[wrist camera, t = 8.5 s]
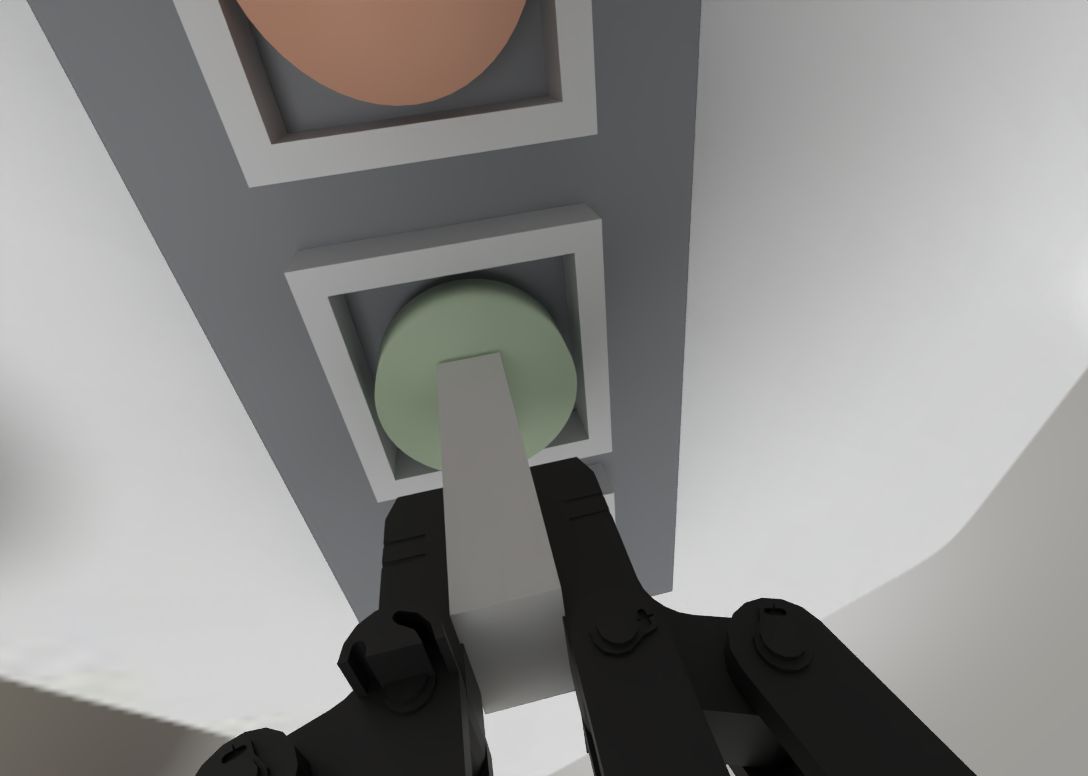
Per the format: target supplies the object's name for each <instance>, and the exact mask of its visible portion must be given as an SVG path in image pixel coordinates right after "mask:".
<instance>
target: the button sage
mask: <svg viewBox="0 0 1088 776" xmlns="http://www.w3.org/2000/svg"><path fill="white" fill-rule="evenodd" d="M494 353H500V356H501V360H502V364H503V368H504V372H505V375H506V379H507V383H508V387H509V391H510V395H511V398H512V402H513V406H514V410H515V414H516V418H517V421H518V425H519V429H520V433H521V437H522V440H523V444H524V448H525V452H526V456H527V459H529V458H531V457H532V456H534V455H536V454H537V453H539V452H540V451H541V450H542V449H544V448H545V447H546V446H548V445H549V444H550V443H551V442H552V441H553V440H554V439H555V438H556V436H557V435H558V434H559V433H560V431H561V430H562V429H563V427H564V426H565V424H566V422H567V421H568V419H569V417H570V414H571V412H572V410H573V407H574V403H575V400H576V393H577V375H576V369H575V365H574V362H573V359H572V357H571V355H570V352H569V350H568V348H567V346H566V344H565V342H564V340H563V338H562V336H561V334H560V332H559V330H558V328H557V326H556V324H555V322H554V320H553V318H552V317H551V315H550V314H549V313H548V311H547V310H546V309H545V308H544V307H543V306H542V305H541V304H540V303H539V302H538V301H537V300H536V299H534V298H533V297H532V296H531V295H529V294H528V293H526V292H524V291H522V290H521V289H519V288H516V287H514V286H512V285H509V284H506V283H503V282H499V281H495V280H488V279H461V280H454V281H450V282H446V283H442V284H440V285H437V286H434V287H432V288H430V289H428V290H426V291H424V292H422V293H420V294H419V295H417V296H416V297H414V298H413V299H412V300H410V301H409V302H408V303H407V304H406V305H405V306H404V307H402V308H401V309H400V310H399V312H398V313H397V314H396V315H395V317H394V318H393V319H392V321H391V322H390V324H389V326H388V328H387V329H386V331H385V334H384V337H383V339H382V342H381V347H380V351H379V359H378V366H377V374H376V382H375V395H374V397H375V406H376V411H377V414H378V418H379V420H380V422H381V425H382V427H383V429H384V430H385V432H386V433H387V435H388V437H389V438H390V439H391V440H392V441H393V443H394V444H395V445H396V446H397V447H398V448H399V449H401V450H402V451H403V452H404V453H405V454H407V455H408V456H410V457H411V458H413V459H414V460H416V461H418V462H420V463H422V464H424V465H426V466H429V467H432V468H435V469H438V470H442V460H441V441H440V423H439V404H438V386H437V367H436V365H437V364H442V363H447V362H452V361H457V360H463V359H468V358H473V357H478V356H483V355H488V354H494Z"/></svg>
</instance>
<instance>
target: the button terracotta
mask: <svg viewBox="0 0 1088 776" xmlns="http://www.w3.org/2000/svg"><path fill="white" fill-rule="evenodd" d="M237 2H238V4H239V5H240V7H241V8H242V10H243V11H244V13H245V14H246V16H247V17H248V18H249V19H250V21H251V22H252V23H253V24H254V26H255V27H256V28H257V29H258V31H259V32H260V33H261V34H262V36H263V37H264V38H265V39H266V40H267V41H268V42H269V43H270V44H271V45H272V46H273V47H274V48H275V49H276V50H277V51H278V52H279V53H280V54H281V55H282V56H283V57H284V58H286V59H287V60H288V61H289V62H290V63H292V64H293V65H294V66H295V67H297V68H298V69H299V70H300V71H302V72H303V73H305V74H306V75H308V76H309V77H311V78H312V79H314V80H315V81H317V82H318V83H320V84H322V85H324V86H326V87H328V88H330V89H332V90H334V91H336V92H338V93H340V94H343V95H346V96H349V97H351V98H354V99H357V100H360V101H365V102H370V103H374V104H380V105H393V106H402V105H416V104H421V103H425V102H430V101H434V100H437V99H439V98H442V97H445V96H447V95H450V94H452V93H454V92H455V91H457V90H459V89H461V88H462V87H464V86H466V85H467V84H469V83H470V82H471V81H472V80H474V79H475V78H476V77H478V76H479V75H480V74H481V73H482V72H483V71H484V70H485V69H486V68H487V67H488V66H489V65H490V64H491V63H492V62H493V61H494V60H495V58H496V57H497V56H498V54H499V53H500V52H501V50H502V49H503V47H504V46H505V45H506V43H507V41H508V40H509V38H510V36H511V34H512V32H513V31H514V29H515V27H516V25H517V23H518V20H519V18H520V15H521V13H522V10H523V8H524V5H525V2H526V0H237Z"/></svg>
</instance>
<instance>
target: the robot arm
mask: <svg viewBox="0 0 1088 776" xmlns="http://www.w3.org/2000/svg"><path fill="white" fill-rule="evenodd" d="M436 367H437V386H438V404H439V423H440V441H441V460H442V479H443V488H438V489H433V490H429V491H424V492H420V493H415V494H411V495H406V496H401V497H397V499H396V501H395V503H394V505H393V506H392V508H391V510H390V512H389V514H388V515H387V517H386V519H385V527H384V541H383V544H384V548H383V555H382V566H383V568H382V569H381V583H380V596H379V610H377V611H374V612H373V613H372V614H371V615H369V616H368V617H367V618H365V619H364V620H363V621H362V622H360V623H359V624H358V625H357V626H356V627H355V629H354V630H353V631H352V633H351V634H350V636H349V637H348V638H347V640H346V641H345V643H344V644H343V647H342V651H341V654H340V657H339V660H338V663H337V665H338V666H339V668H340V669H341V671H342V673H343V674H344V676H345V678H346V679H347V681H348V682H349V684H350V686H351V687H352V689H353V691H352V692H351V693H350V694H349V695H348V696H347V697H346V698H345V699H344V700H343V701H342V702H340V703H339V704H337V705H336V706H335V707H333V708H332V709H331V710H329V711H327V712H326V713H324V714H322V715H321V716H319V717H317V718H316V719H314V720H312V721H311V722H309V723H307V724H306V725H304V726H302V727H301V728H299V729H297V730H296V731H294V732H292V733H291V734H289V735H287V736H286V735H285V734H284V733H283V732H281V731H277V730H273V729H269V728H262V729H257V730H253V731H248V732H244V733H243V734H241V735H239V736H237V737H236V738H234V739H232V740H231V741H229V742H227V743H225V744H224V745H222V747H220V748H219V749H218V750H217V751H216V752H215V753H214V754H213V755H212V756H211V757H210V758H209V759H208V760H207V761H206V762H205V763H204V764H203V765H202V766H201V768H200V769H199V771H198V772H197V774H196V776H493V768H492V758H491V754H490V751H489V747H488V744H487V741H486V738H485V729H484V719H483V709H484V712H485V714H489V713H493V712H496V711H500V710H504V709H508V708H511V707H515V706H519V705H523V704H527V703H530V702H534V701H538V700H542V699H546V698H549V697H553V696H557V695H561V694H564V693H568V692H572V691H576V695H577V699H578V703H579V707H580V711H581V716H582V723H583V729H584V736H585V743H586V750H587V753H589V756H590V759H591V763H592V768H593V772H594V776H730V774H729V772H728V769H727V767H726V765H725V764H728V765H729V767H730V768H731V770H732V771H733V773H734V774H735V776H977V775H976V774H975V773H974V772H973V771H972V770H970V769H969V768H968V767H967V766H966V765H965V764H964V763H963V762H962V761H961V760H960V759H959V758H958V757H957V756H956V755H955V754H954V753H953V752H952V751H951V750H950V749H949V748H948V747H947V746H946V745H945V744H944V743H943V742H942V741H941V740H940V739H939V738H938V737H937V736H936V735H935V734H934V733H933V732H932V731H931V730H930V729H929V728H928V727H927V726H926V725H925V724H924V723H923V722H922V721H921V720H920V719H919V718H918V717H917V716H916V715H915V714H914V713H913V712H912V711H911V710H910V709H909V708H908V707H907V706H906V705H905V704H904V703H903V702H902V701H901V700H900V699H899V698H898V697H897V696H896V695H895V694H894V693H893V692H892V691H891V690H890V689H888V687H887V686H886V685H885V684H883V683H882V681H881V680H879V678H877V677H876V676H875V675H874V674H873V673H872V672H871V671H870V670H869V669H868V668H867V667H866V666H865V665H864V664H863V663H862V662H861V661H860V660H859V659H858V658H857V657H856V656H855V655H854V654H853V653H852V652H851V651H850V650H849V649H848V648H847V647H846V646H845V645H844V644H843V643H842V642H841V641H840V640H839V639H838V638H837V637H836V636H835V635H834V634H833V633H832V632H831V631H830V630H829V629H828V628H827V627H826V626H825V625H824V624H823V623H822V622H821V621H820V620H819V619H817V618H816V617H815V616H813V615H812V614H810V613H809V612H808V611H806V610H805V609H804V608H802V607H800V606H798V605H795V604H793V603H790V602H787V601H785V600H782V599H771V598H760V599H757V600H753V601H750V602H747V603H744V604H743V605H742V606H741V607H740V608H739V609H738V610H737V611H736V612H735V613H734V614H733V616H732V618H727V617H713V616H700V615H691V614H685V613H680V612H677V611H674V610H672V609H669V608H667V607H665V606H663V605H662V604H660V603H659V602H657V601H656V600H654V599H653V598H652V597H651V596H650V595H649V594H648V593H647V592H646V591H645V590H644V588H643V587H642V585H641V583H640V581H639V580H638V578H637V576H636V573H635V571H634V568H633V566H632V563H631V561H630V558H629V556H628V554H627V551H626V549H625V546H624V544H623V541H622V539H621V537H620V534H619V532H618V529H617V527H616V524H615V522H614V519H613V517H612V515H611V514H610V511H609V507H608V505H607V502H606V500H605V498H604V497H603V493H602V490H601V488H600V485H599V483H598V480H597V478H596V476H595V473H594V471H592V470H591V469H590V468H589V467H588V466H587V465H586V464H584V463H583V462H582V461H581V460H580V459H579V458H578V457H573V458H568V459H563V460H559V461H554V462H550V463H545V464H541V465H536V466H531V467H529V463H528V460H527V456H526V452H525V448H524V444H523V440H522V437H521V433H520V429H519V425H518V421H517V418H516V414H515V410H514V406H513V402H512V398H511V395H510V391H509V387H508V383H507V379H506V375H505V372H504V368H503V364H502V360H501V356H500V353H494V354H488V355H483V356H478V357H473V358H468V359H463V360H457V361H452V362H447V363H442V364H437V365H436ZM482 706H483V708H482Z"/></svg>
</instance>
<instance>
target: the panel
mask: <svg viewBox="0 0 1088 776" xmlns="http://www.w3.org/2000/svg"><path fill="white" fill-rule="evenodd" d="M27 2H28V4H29V6H30V8H31V9H32V11H33V13H34V15H35V17H36V19H37V21H38V23H39V24H40V26H41V28H42V30H43V32H44V34H45V36H46V38H47V39H48V41H49V43H50V45H51V47H52V49H53V51H54V52H55V54H56V56H57V58H58V60H59V62H60V64H61V66H62V67H63V69H64V71H65V73H66V75H67V77H68V79H69V81H70V82H71V84H72V86H73V88H74V90H75V92H76V94H77V96H78V97H79V99H80V101H81V103H82V105H83V107H84V109H85V110H86V112H87V114H88V116H89V118H90V120H91V122H92V124H93V125H94V127H95V129H96V131H97V133H98V135H99V137H100V139H101V140H102V142H103V144H104V146H105V148H106V150H107V152H108V153H109V155H110V157H111V159H112V161H113V163H114V165H115V167H116V168H117V170H118V172H119V174H120V176H121V178H122V180H123V182H124V183H125V185H126V187H127V189H128V191H129V193H130V195H131V196H132V198H133V200H134V202H135V204H136V206H137V208H138V210H139V211H140V213H141V215H142V217H143V219H144V221H145V223H146V225H147V226H148V228H149V230H150V232H151V234H152V236H153V238H154V240H155V241H156V243H157V245H158V247H159V249H160V251H161V253H162V254H163V256H164V258H165V260H166V262H167V264H168V266H169V268H170V269H171V271H172V273H173V275H174V277H175V279H176V281H177V283H178V284H179V286H180V288H181V290H182V292H183V294H184V296H185V297H186V299H187V301H188V303H189V305H190V307H191V309H192V311H193V312H194V314H195V316H196V318H197V320H198V322H199V324H200V326H201V327H202V329H203V331H204V333H205V335H206V337H207V339H208V340H209V342H210V344H211V346H212V348H213V350H214V352H215V354H216V355H217V357H218V359H219V361H220V363H221V365H222V367H223V369H224V370H225V372H226V374H227V376H228V378H229V380H230V382H231V384H232V385H233V387H234V389H235V391H236V393H237V395H238V397H239V398H240V400H241V402H242V404H243V406H244V408H245V410H246V412H247V413H248V415H249V417H250V419H251V421H252V423H253V425H254V427H255V428H256V430H257V432H258V434H259V436H260V438H261V440H262V441H263V443H264V445H265V447H266V449H267V451H268V453H269V455H270V456H271V458H272V460H273V462H274V464H275V466H276V468H277V470H278V471H279V473H280V475H281V477H282V479H283V481H284V483H285V485H286V486H287V488H288V490H289V492H290V494H291V496H292V498H293V499H294V501H295V503H296V505H297V507H298V509H299V511H300V513H301V514H302V516H303V518H304V520H305V522H306V524H307V526H308V528H309V529H310V531H311V533H312V535H313V537H314V539H315V541H316V542H317V544H318V546H319V548H320V550H321V552H322V554H323V556H324V557H325V559H326V561H327V563H328V565H329V567H330V569H331V571H332V572H333V574H334V576H335V578H336V580H337V582H338V584H339V585H340V587H341V589H342V591H343V593H344V595H345V597H346V599H347V600H348V602H349V604H350V606H351V608H352V610H353V612H354V614H355V615H356V617H357V619H358V621H359V623H360V622H362V621H363V620H364V619H365V618H367V617H368V616H369V615H371V614H372V613H373V612H374V611H377V610H379V596H380V583H381V569H382V568H383V566H382V555H383V548H384V544H383V541H384V527H385V519H386V517H387V515H388V514H389V512H390V510H391V508H392V506H393V505H394V503H395V501H396V499H397V497H401V496H406V495H411V494H415V493H420V492H424V491H429V490H433V489H438V488H443V479H442V470H438V469H435V468H432V467H429V466H426V465H424V464H422V463H420V462H418V461H416V460H414V459H413V458H411V457H410V456H408V455H407V454H405V453H404V452H403V451H402V450H401V449H399V448H398V447H397V446H396V445H395V444H394V443H393V441H392V440H391V439H390V438H389V437H388V435H387V433H386V432H385V430H384V429H383V427H382V425H381V422H380V420H379V418H378V414H377V411H376V406H375V397H374V395H375V382H376V374H377V366H378V359H379V351H380V347H381V342H382V339H383V337H384V334H385V331H386V329H387V328H388V326H389V324H390V322H391V321H392V319H393V318H394V317H395V315H396V314H397V313H398V312H399V310H400V309H401V308H402V307H404V306H405V305H406V304H407V303H408V302H409V301H410V300H412V299H413V298H414V297H416V296H417V295H419V294H420V293H422V292H424V291H426V290H428V289H430V288H432V287H434V286H437V285H440V284H442V283H446V282H450V281H454V280H461V279H488V280H495V281H499V282H503V283H506V284H509V285H512V286H514V287H516V288H519V289H521V290H522V291H524V292H526V293H528V294H529V295H531V296H532V297H533V298H534V299H536V300H537V301H538V302H539V303H540V304H541V305H542V306H543V307H544V308H545V309H546V310H547V311H548V313H549V314H550V315H551V317H552V318H553V320H554V322H555V324H556V326H557V328H558V330H559V332H560V334H561V336H562V338H563V340H564V342H565V344H566V346H567V348H568V350H569V352H570V355H571V357H572V359H573V362H574V365H575V369H576V375H577V393H576V400H575V403H574V407H573V410H572V412H571V414H570V417H569V419H568V421H567V422H566V424H565V426H564V427H563V429H562V430H561V431H560V433H559V434H558V435H557V436H556V438H555V439H554V440H553V441H552V442H551V443H550V444H549V445H548V446H546V447H545V448H544V449H542V450H541V451H540V452H539V453H537V454H536V455H534V456H532V457H531V458H529V459H527V460H528V463H529V467H531V466H536V465H541V464H545V463H550V462H554V461H559V460H563V459H568V458H573V457H578V458H579V459H580V460H581V461H582V462H583V463H584V464H586V465H587V466H588V467H589V468H590V469H591V470H592V471H594V473H595V476H596V478H597V480H598V483H599V485H600V488H601V490H602V493H603V497H604V498H605V500H606V502H607V505H608V507H609V511H610V514H611V515H612V517H613V519H614V522H615V524H616V527H617V529H618V532H619V534H620V537H621V539H622V541H623V544H624V546H625V549H626V551H627V554H628V556H629V558H630V561H631V563H632V566H633V568H634V571H635V573H636V576H637V578H638V580H639V581H640V583H641V585H642V587H643V588H644V590H645V591H646V592H647V593H648V594H649V595H650V596H655V595H659V594H663V593H667V592H671V591H672V588H673V568H674V547H675V527H676V506H677V486H678V466H679V445H680V425H681V404H682V384H683V363H684V343H685V323H686V302H687V282H688V261H689V241H690V221H691V200H692V180H693V159H694V139H695V119H696V98H697V78H698V57H699V37H700V16H701V0H526V2H525V5H524V8H523V10H522V13H521V15H520V18H519V20H518V23H517V25H516V27H515V29H514V31H513V32H512V34H511V36H510V38H509V40H508V41H507V43H506V45H505V46H504V47H503V49H502V50H501V52H500V53H499V54H498V56H497V57H496V58H495V60H494V61H493V62H492V63H491V64H490V65H489V66H488V67H487V68H486V69H485V70H484V71H483V72H482V73H481V74H480V75H479V76H478V77H476V78H475V79H474V80H472V81H471V82H470V83H469V84H467V85H466V86H464V87H462V88H461V89H459V90H457V91H455V92H454V93H452V94H450V95H447V96H445V97H442V98H439V99H437V100H434V101H430V102H425V103H421V104H416V105H402V106H393V105H380V104H374V103H370V102H365V101H360V100H357V99H354V98H351V97H349V96H346V95H343V94H340V93H338V92H336V91H334V90H332V89H330V88H328V87H326V86H324V85H322V84H320V83H318V82H317V81H315V80H314V79H312V78H311V77H309V76H308V75H306V74H305V73H303V72H302V71H300V70H299V69H298V68H297V67H295V66H294V65H293V64H292V63H290V62H289V61H288V60H287V59H286V58H284V57H283V56H282V55H281V54H280V53H279V52H278V51H277V50H276V49H275V48H274V47H273V46H272V45H271V44H270V43H269V42H268V41H267V40H266V39H265V38H264V37H263V36H262V34H261V33H260V32H259V31H258V29H257V28H256V27H255V26H254V24H253V23H252V22H251V21H250V19H249V18H248V17H247V16H246V14H245V13H244V11H243V10H242V8H241V7H240V5H239V4H238V2H237V0H27Z"/></svg>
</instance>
